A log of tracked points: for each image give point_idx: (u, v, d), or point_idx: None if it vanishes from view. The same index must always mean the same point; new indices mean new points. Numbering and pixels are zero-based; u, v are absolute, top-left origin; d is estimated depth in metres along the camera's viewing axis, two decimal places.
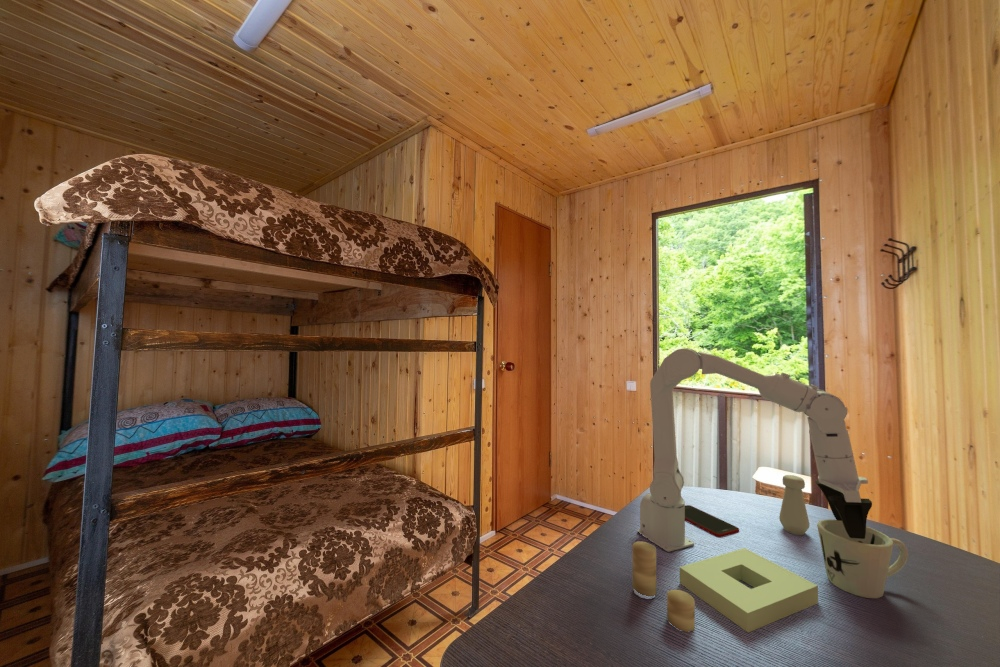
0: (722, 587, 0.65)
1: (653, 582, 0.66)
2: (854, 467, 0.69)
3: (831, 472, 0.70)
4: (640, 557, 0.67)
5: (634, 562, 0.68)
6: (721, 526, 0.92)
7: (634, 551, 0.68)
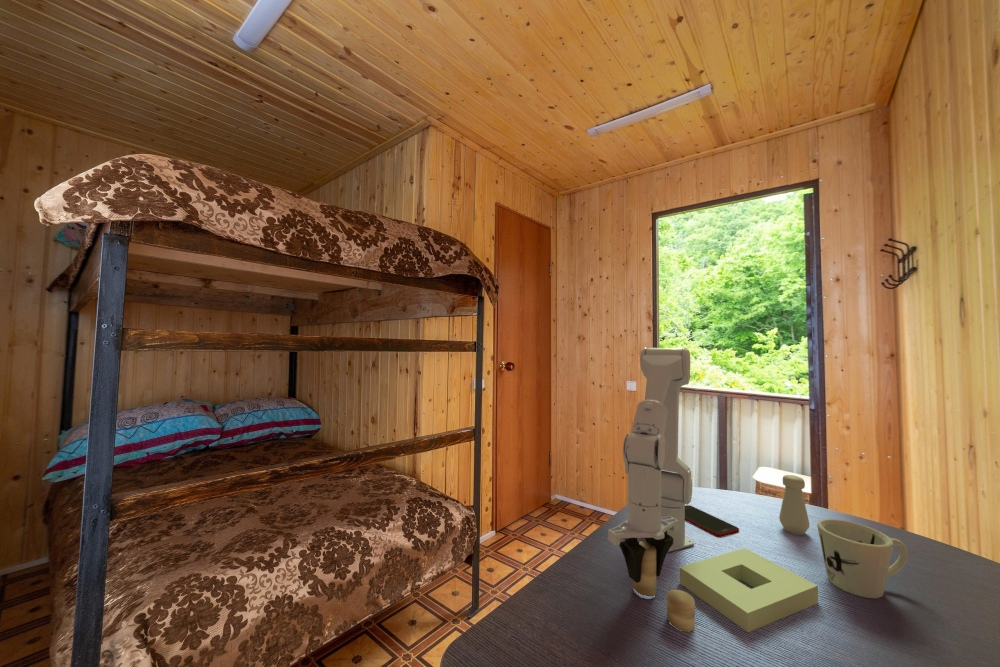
0: (722, 587, 0.65)
1: (653, 582, 0.66)
2: (646, 518, 0.66)
3: (628, 514, 0.69)
4: None
5: None
6: (721, 526, 0.92)
7: None
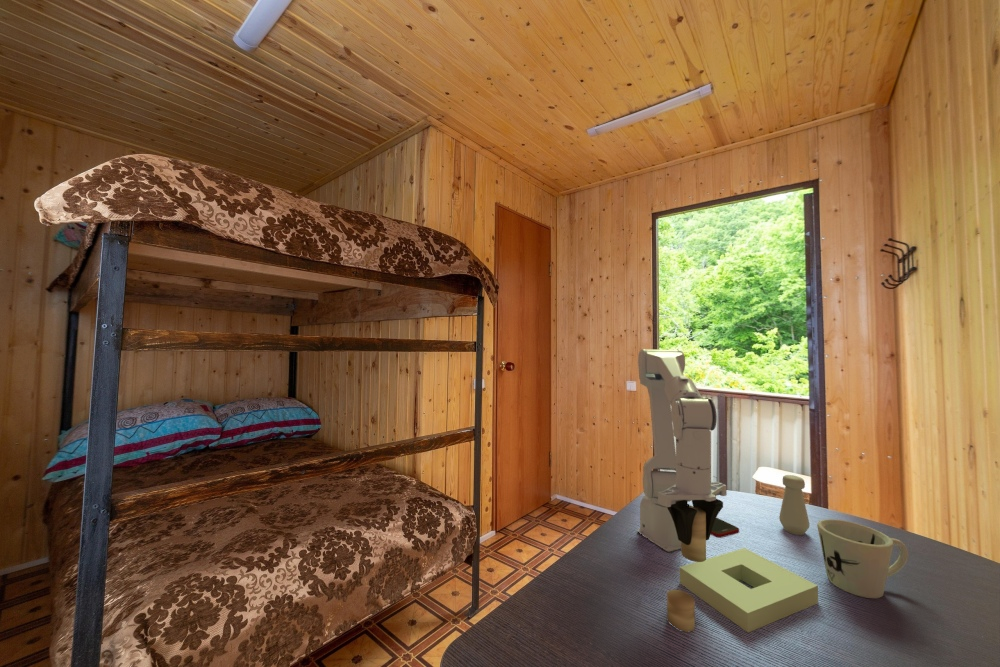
0: (722, 587, 0.65)
1: (703, 544, 0.67)
2: (697, 481, 0.66)
3: (676, 478, 0.69)
4: None
5: None
6: (721, 526, 0.92)
7: None
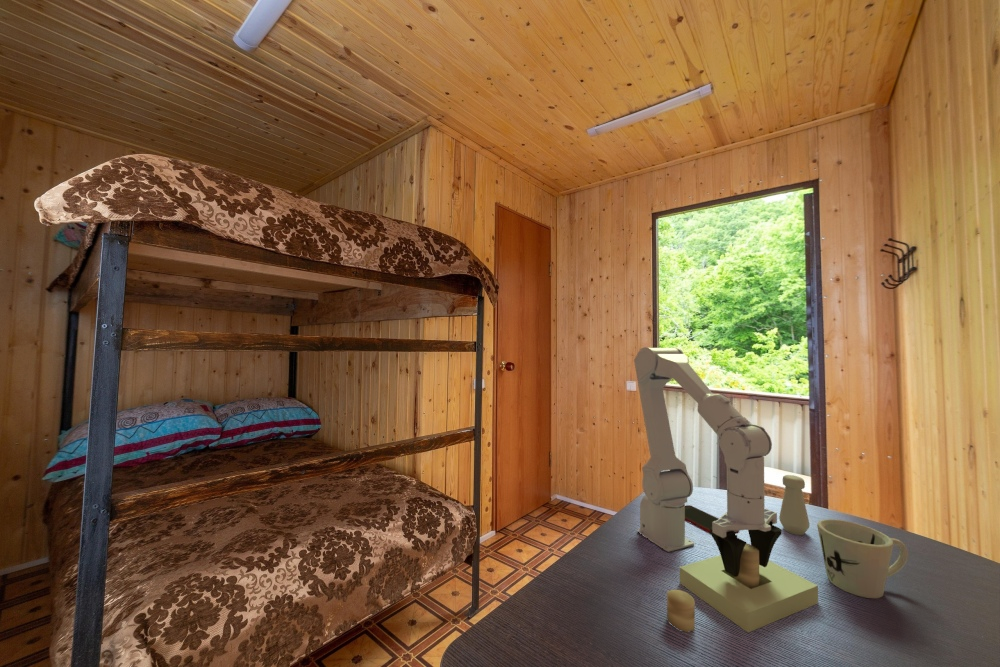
0: (722, 587, 0.65)
1: (757, 582, 0.66)
2: (751, 510, 0.66)
3: (728, 506, 0.69)
4: (744, 558, 0.67)
5: None
6: None
7: None
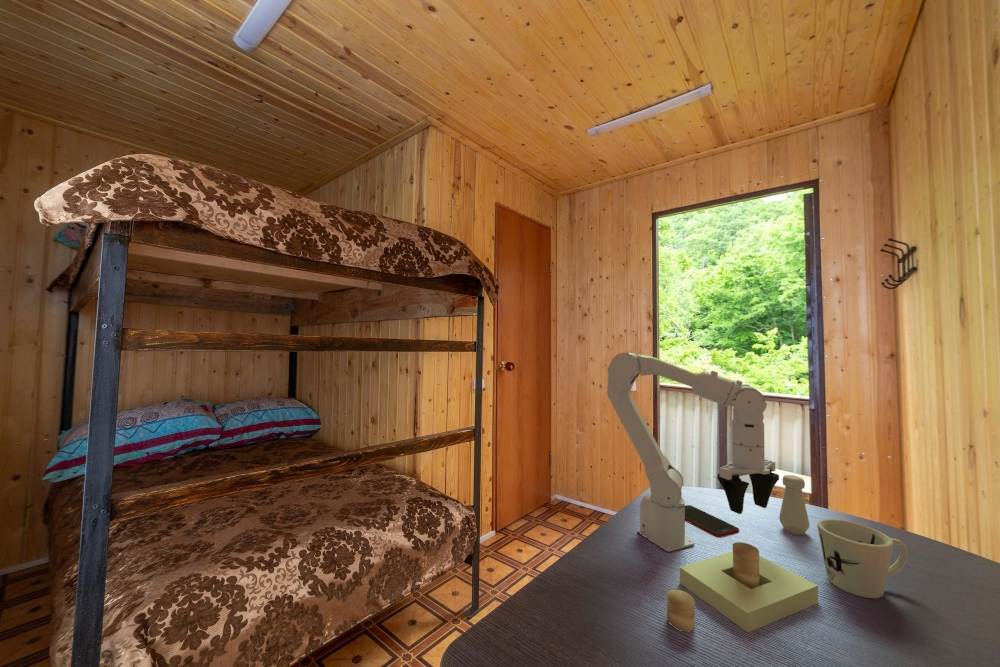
0: (722, 587, 0.65)
1: (757, 582, 0.66)
2: (753, 457, 0.77)
3: (733, 455, 0.80)
4: (744, 558, 0.67)
5: (737, 564, 0.68)
6: (721, 526, 0.92)
7: (737, 552, 0.68)
